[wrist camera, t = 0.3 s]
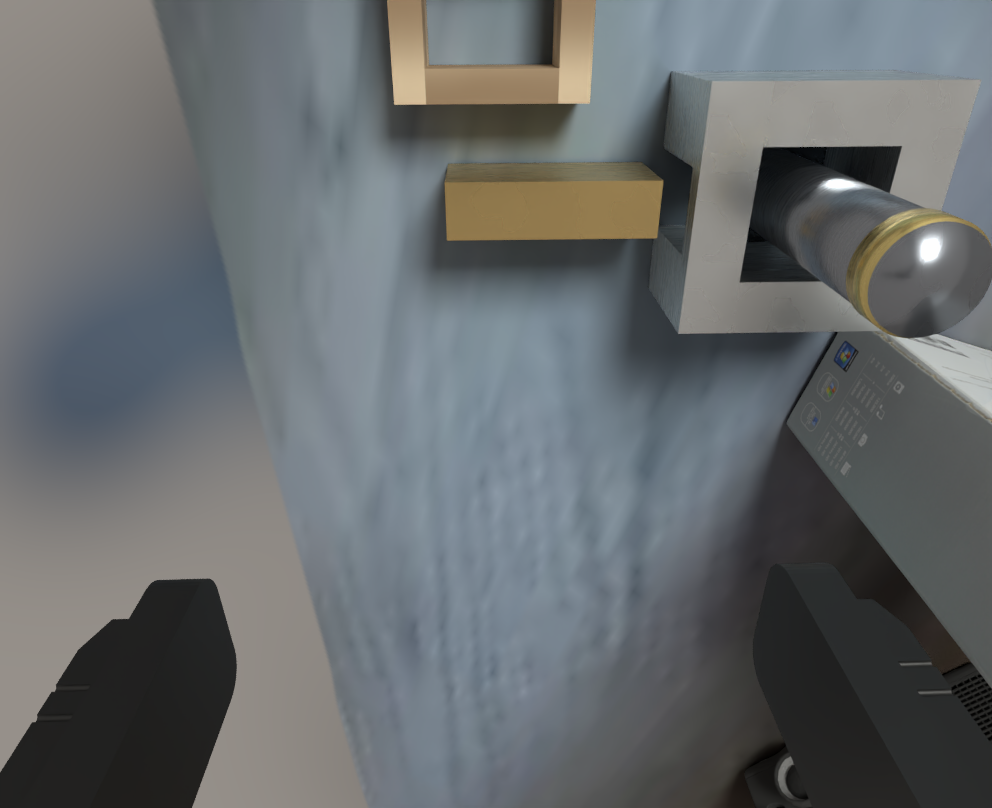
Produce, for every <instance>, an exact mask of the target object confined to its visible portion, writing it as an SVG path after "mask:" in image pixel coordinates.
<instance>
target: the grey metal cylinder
mask: <svg viewBox="0 0 992 808" xmlns="http://www.w3.org/2000/svg"><path fill="white" fill-rule="evenodd" d="M749 227H750V228H751V229H752V230H754V231H755V232H756V233H758V234H759V235H760V236H762V237H763V238H764V239H766V240H767V241H768V242H770V243H771V244H772V245H774V246H775V247H776V248H778V249H779V250H780V251H782V252H783V253H784V254H786V255H787V256H788V257H790V258H791V259H792V260H794V261H795V262H796V263H798V264H799V265H800V266H802V267H803V268H804V269H806V270H807V271H808V272H810V273H811V274H813V275H814V276H815V277H817V278H818V279H819V280H821V281H822V282H823V283H825V284H826V285H827V286H829V287H830V288H831V289H833V290H834V291H835V292H837V293H838V294H839V295H841V296H842V297H843V298H845V299H846V300H847V301H849V302H850V303H851V304H852V306H853V307H854V309H855V310H856V311H857V312H858V313H859V314H860V315H862V316H863V317H864V318H866V319H867V320H868V321H870V322H871V323H872V324H874V325H875V326H876V327H878V328H879V329H880V330H882V331H883V332H885V333H887V334H889V335H892V336H895V337H900V338H920V337H927V336H931V335H934V334H938V333H940V332H942V331H945V330H947V329H949V328H951V327H953V326H954V325H956V324H957V323H959V322H960V321H961V320H963V319H964V318H965V317H966V316H968V315H969V314H970V313H971V312H972V311H973V310H974V308H975V307H976V306H977V305H978V304H979V302H980V301H981V300H982V298H983V297H984V295H985V293H986V291H987V290H988V287H989V285H990V283H991V279H992V247H991V244H990V242H989V240H988V238H987V236H986V235H985V234H984V232H983V231H982V230H981V229H980V228H978V227H977V226H976V225H974V224H972V223H971V222H968V221H966V220H963V219H961V218H958V217H956V216H953V215H951V214H948V213H946V212H943V211H941V210H937V209H931V208H924V207H922V206H919V205H917V204H914V203H912V202H910V201H907V200H905V199H902V198H900V197H897V196H895V195H893V194H890V193H888V192H885V191H883V190H880V189H878V188H876V187H873V186H871V185H868V184H866V183H864V182H861V181H859V180H856V179H854V178H851V177H849V176H847V175H844V174H842V173H839V172H837V171H834V170H832V169H830V168H827V167H825V166H822V165H820V164H817V163H815V162H813V161H810V160H808V159H805V158H803V157H800V156H798V155H796V154H793V153H791V152H788V151H786V150H783V149H781V148H777V147H763V150H762V156H761V161H760V167H759V173H758V179H757V184H756V190H755V196H754V201H753V207H752V213H751V219H750V224H749Z"/></svg>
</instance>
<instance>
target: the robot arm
mask: <svg viewBox="0 0 992 808" xmlns="http://www.w3.org/2000/svg"><path fill="white" fill-rule="evenodd" d="M753 658H754V665H755V670H756V674H757V677H758V681H759V683H760V686H761V688H762V691H763V693H764V695H765V698H766V700H767V702H768V704H769V707H770V709H771V711H772V714H773V716H774V718H775V721H776V723H777V725H778V728H779V730H780V732H781V735H782V737H783V739H784V742H785V744H786V746H787V749H788V751H789V753H790V756H791V758H792V760H793V763H794V765H795V767H796V770H797V772H798V774H799V777H800V779H801V781H802V784H803V786H804V788H805V791H806V793H807V795H808V798H809V800H810V802H811V805H812V807H813V808H992V744H991V743H990V741H989V740H988V739H987V737H986V736H985V734H984V733H983V732H982V730H981V729H980V727H979V726H978V725H977V723H976V722H975V720H974V719H973V718H972V716H971V715H970V713H969V712H968V711H967V709H966V708H965V706H964V705H963V704H962V702H961V701H960V699H959V698H958V697H957V696H953V694H952V692H951V689H952V688H951V687H950V685H949V684H948V683H947V681H946V680H945V678H944V677H943V676H942V674H941V673H940V671H939V670H938V669H937V667H933V666H932V664H931V659H930V657H929V656H928V655H927V653H926V652H925V650H924V649H923V648H922V646H921V645H920V643H919V642H918V641H917V639H916V638H915V636H914V635H913V634H912V632H911V631H910V630H909V628H908V627H907V626H906V625H905V624H903V623H902V622H901V621H900V620H898V619H897V618H896V617H895V616H893V615H892V614H891V613H890V612H888V611H887V610H886V609H885V608H883V607H882V606H881V605H880V604H878V603H877V602H876V601H875V600H873V599H856V597H855V596H854V594H853V593H852V591H851V590H850V588H849V587H848V585H847V584H846V582H845V580H844V579H843V577H842V576H841V574H840V573H839V572H838V570H837V569H836V568H835V567H834V566H833V565H832V564H830V563H795V564H775V565H773V566H772V567H771V569H770V571H769V574H768V578H767V582H766V587H765V591H764V595H763V599H762V604H761V608H760V612H759V617H758V621H757V625H756V629H755V634H754V639H753ZM236 669H237V664H236V653H235V649H234V645H233V642H232V639H231V635H230V631H229V628H228V624H227V621H226V617H225V614H224V610H223V607H222V603H221V600H220V596H219V593H218V589H217V587H216V585H215V583H214V581H212V580H211V579H181V580H157V581H154V582H152V583H151V584H150V585H149V587H148V588H147V589H146V591H145V592H144V594H143V596H142V598H141V599H140V601H139V603H138V604H137V606H136V608H135V610H134V611H133V613H132V615H131V616H130V618H129V619H117V620H116V619H113V620H111V621H110V622H109V623H108V624H107V625H106V626H105V627H104V628H102V629H101V630H100V631H99V632H98V633H97V634H96V635H95V636H93V637H92V638H91V639H90V640H89V641H88V642H87V643H86V644H84V645H83V646H82V647H81V648H80V649H79V650H78V651H77V653H76V654H75V656H74V658H73V659H72V661H71V662H70V664H69V665H68V667H67V669H66V670H65V672H64V673H63V675H62V677H61V678H60V680H59V681H58V683H57V684H56V691H55V692H51V694H50V695H49V697H48V699H47V700H46V702H45V703H44V705H43V706H42V708H41V709H40V711H39V713H38V714H37V716H38V718H37V721H36V722H33V723H32V724H31V725H30V727H29V728H28V730H27V731H26V733H25V735H24V736H23V738H22V739H21V741H20V742H19V744H18V746H17V747H16V749H15V750H14V752H13V753H12V756H11V757H10V758H9V760H8V761H7V763H6V764H5V766H4V768H3V769H2V771H1V772H0V808H192V806H193V803H194V800H195V798H196V795H197V792H198V789H199V787H200V784H201V781H202V778H203V776H204V773H205V770H206V767H207V765H208V762H209V759H210V756H211V754H212V751H213V748H214V745H215V743H216V740H217V737H218V734H219V731H220V729H221V726H222V723H223V721H224V718H225V715H226V712H227V709H228V707H229V704H230V701H231V698H232V695H233V691H234V687H235V681H236Z"/></svg>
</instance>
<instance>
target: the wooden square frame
mask: <svg viewBox="0 0 992 808" xmlns="http://www.w3.org/2000/svg"><path fill="white" fill-rule="evenodd" d="M595 4H596V0H554V26H553V57H552V64H537V65H429V55H428V33H427V11H426V0H387V7H388V22H389V36H390V51H391V65H392V79H393V94H394V105H430V104H577V103H590V92H591V74H592V57H593V39H594V22H595Z"/></svg>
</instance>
